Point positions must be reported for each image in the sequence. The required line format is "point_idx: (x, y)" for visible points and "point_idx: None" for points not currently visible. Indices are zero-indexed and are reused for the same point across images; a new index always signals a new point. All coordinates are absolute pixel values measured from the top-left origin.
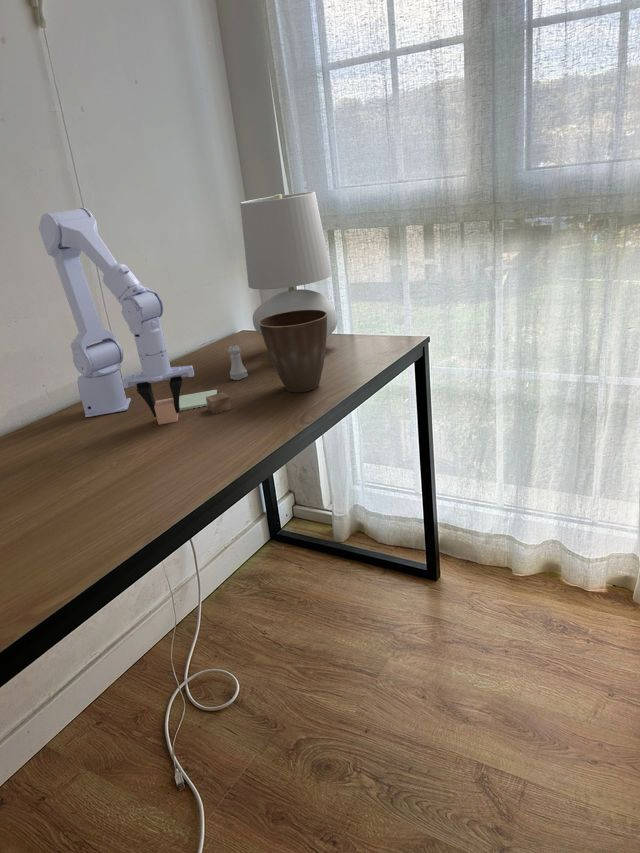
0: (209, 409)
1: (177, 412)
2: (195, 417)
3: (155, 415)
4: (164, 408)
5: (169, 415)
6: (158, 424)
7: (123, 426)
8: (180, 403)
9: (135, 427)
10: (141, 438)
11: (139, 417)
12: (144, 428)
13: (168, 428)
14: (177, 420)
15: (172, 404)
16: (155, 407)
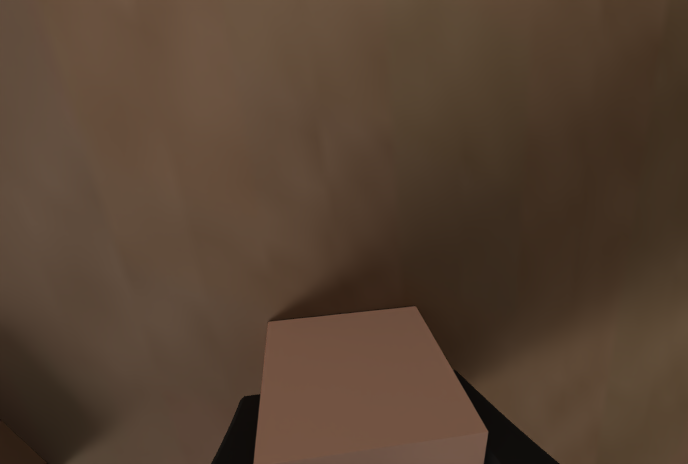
0: (22, 455)
1: (255, 397)
2: (120, 351)
3: None
4: (367, 411)
5: (323, 354)
6: (415, 307)
7: (639, 357)
8: None
9: (573, 313)
10: (554, 41)
11: None
12: (516, 271)
13: (325, 191)
14: (268, 330)
15: (268, 455)
16: (470, 425)
